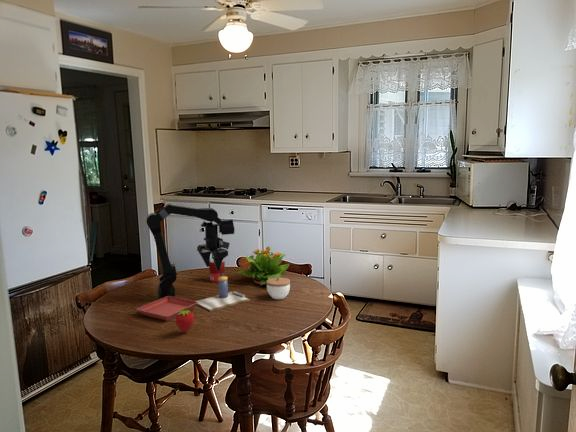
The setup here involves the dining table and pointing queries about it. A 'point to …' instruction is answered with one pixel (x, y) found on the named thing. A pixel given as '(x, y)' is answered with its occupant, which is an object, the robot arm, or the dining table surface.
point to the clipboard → (222, 301)
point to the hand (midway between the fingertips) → (213, 268)
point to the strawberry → (185, 320)
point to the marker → (223, 286)
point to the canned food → (214, 273)
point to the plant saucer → (166, 307)
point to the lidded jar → (278, 287)
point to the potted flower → (264, 266)
